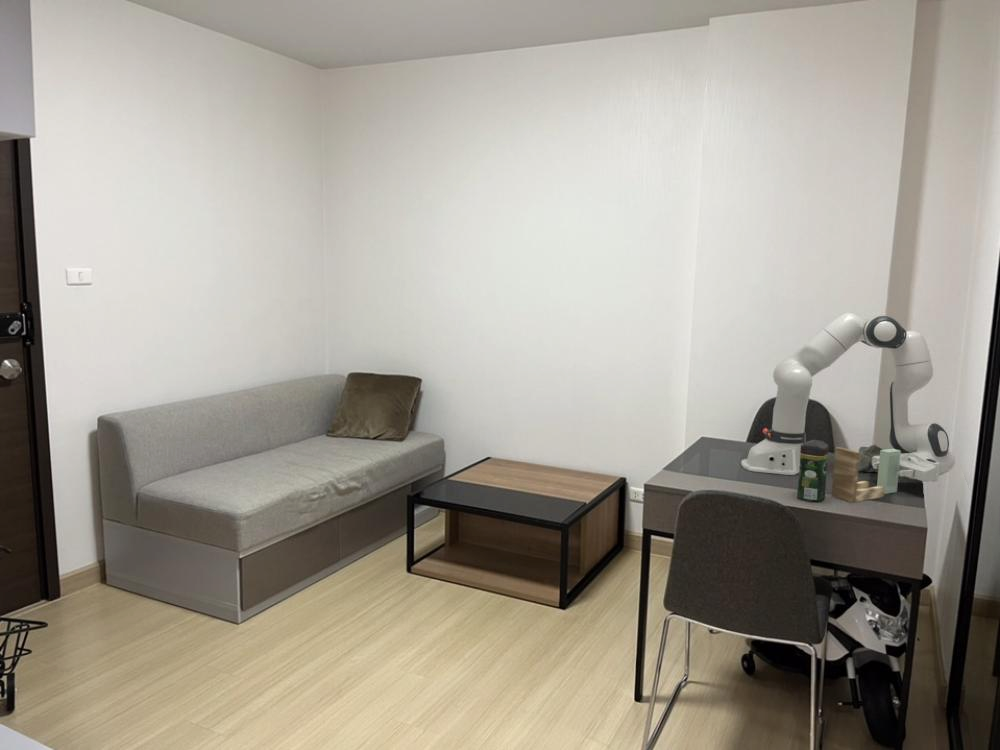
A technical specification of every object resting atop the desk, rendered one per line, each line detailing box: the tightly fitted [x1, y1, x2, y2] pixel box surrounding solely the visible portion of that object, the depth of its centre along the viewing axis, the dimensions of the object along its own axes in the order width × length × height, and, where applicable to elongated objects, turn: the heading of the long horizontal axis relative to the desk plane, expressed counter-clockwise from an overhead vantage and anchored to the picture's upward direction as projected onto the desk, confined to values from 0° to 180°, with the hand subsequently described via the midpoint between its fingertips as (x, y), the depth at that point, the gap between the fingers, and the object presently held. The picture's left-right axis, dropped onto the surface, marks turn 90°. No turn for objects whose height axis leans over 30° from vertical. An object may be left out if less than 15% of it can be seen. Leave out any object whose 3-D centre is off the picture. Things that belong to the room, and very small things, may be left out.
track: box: [831, 446, 885, 503], centre depth 245 cm, size 15×8×16 cm, turn 115°
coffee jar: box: [796, 439, 829, 502], centre depth 242 cm, size 10×8×19 cm
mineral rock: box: [858, 444, 883, 473], centre depth 275 cm, size 13×11×10 cm
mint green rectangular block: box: [876, 448, 902, 495], centre depth 251 cm, size 6×3×14 cm, turn 115°
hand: (886, 469), depth 250 cm, fingers open, 8 cm apart
